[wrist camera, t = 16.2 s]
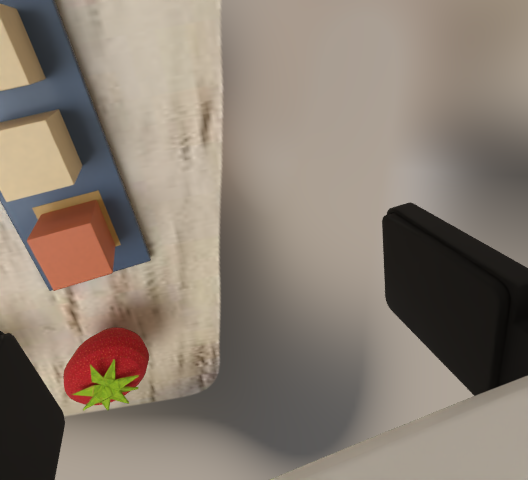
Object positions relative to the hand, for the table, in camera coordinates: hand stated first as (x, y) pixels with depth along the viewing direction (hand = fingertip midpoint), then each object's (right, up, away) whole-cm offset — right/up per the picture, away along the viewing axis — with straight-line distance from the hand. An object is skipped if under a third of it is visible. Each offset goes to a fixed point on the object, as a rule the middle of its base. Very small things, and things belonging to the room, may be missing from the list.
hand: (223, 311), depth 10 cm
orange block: (-14, +3, +23) cm, 27 cm away
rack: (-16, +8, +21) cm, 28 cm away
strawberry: (-14, -7, +30) cm, 34 cm away
